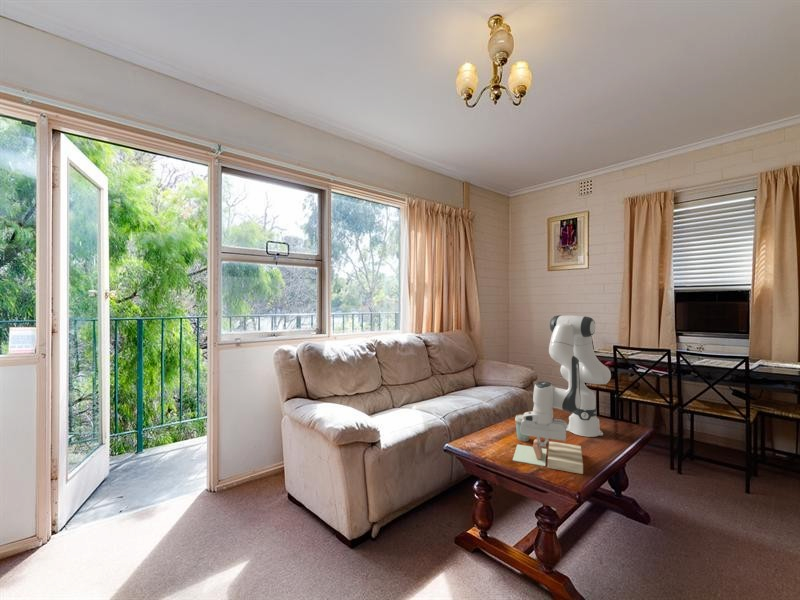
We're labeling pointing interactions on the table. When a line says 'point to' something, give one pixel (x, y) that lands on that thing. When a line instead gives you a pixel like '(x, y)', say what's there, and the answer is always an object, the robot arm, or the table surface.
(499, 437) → the table surface
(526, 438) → the coffee cup
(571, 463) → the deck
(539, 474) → the table surface
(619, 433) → the table surface
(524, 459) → the mat
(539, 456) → the pink rectangular block
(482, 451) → the table surface
